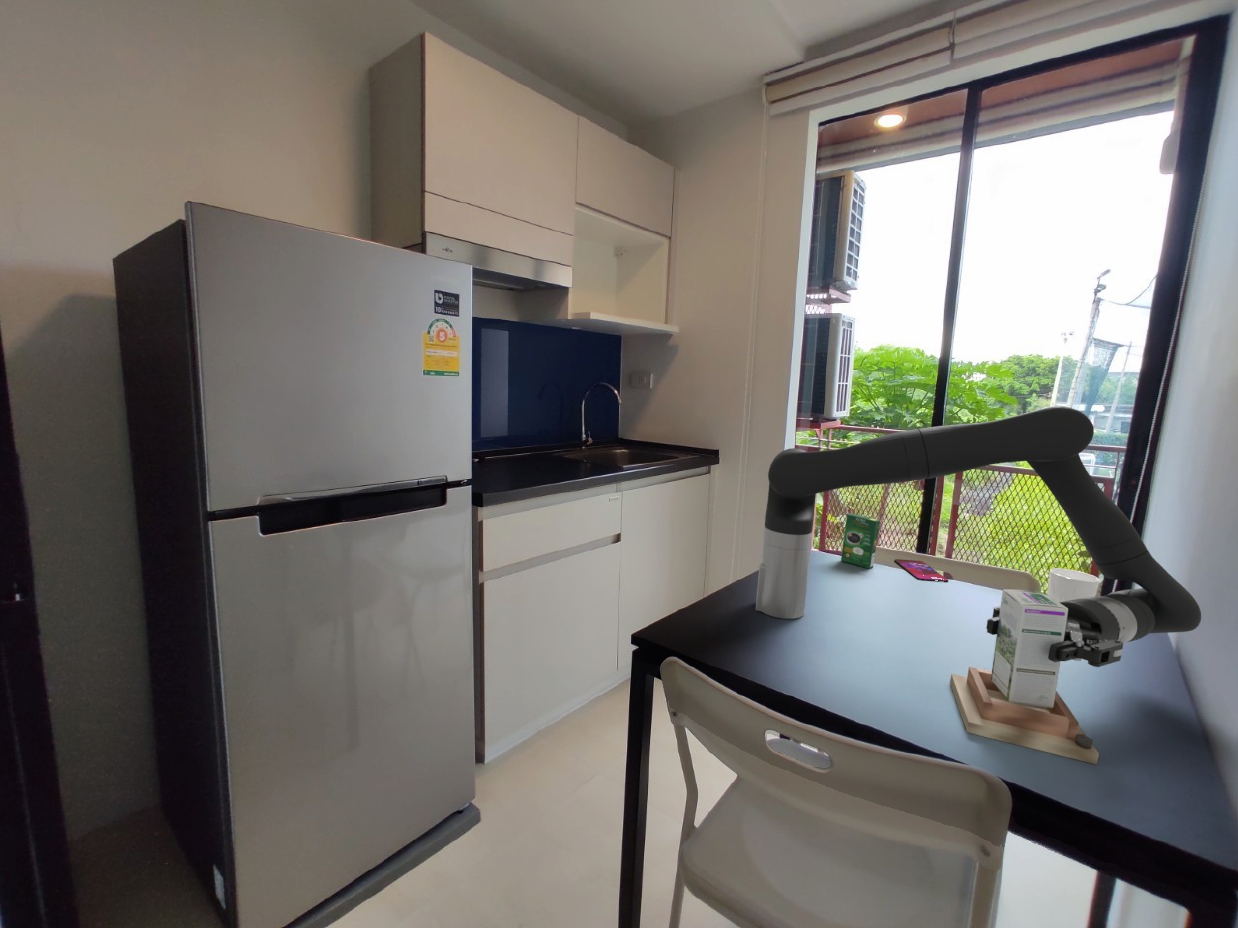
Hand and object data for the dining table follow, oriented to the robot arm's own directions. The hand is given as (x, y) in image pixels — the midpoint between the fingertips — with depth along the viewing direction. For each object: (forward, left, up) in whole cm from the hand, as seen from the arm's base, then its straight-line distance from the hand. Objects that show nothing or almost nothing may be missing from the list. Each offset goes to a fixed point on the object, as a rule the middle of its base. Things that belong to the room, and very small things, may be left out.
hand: (1019, 639), depth 75 cm
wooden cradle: (+1, +1, -12) cm, 12 cm away
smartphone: (-4, +69, -13) cm, 71 cm away
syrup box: (+2, +2, -9) cm, 9 cm away
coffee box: (-19, +66, -12) cm, 70 cm away
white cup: (+21, +49, -12) cm, 55 cm away
